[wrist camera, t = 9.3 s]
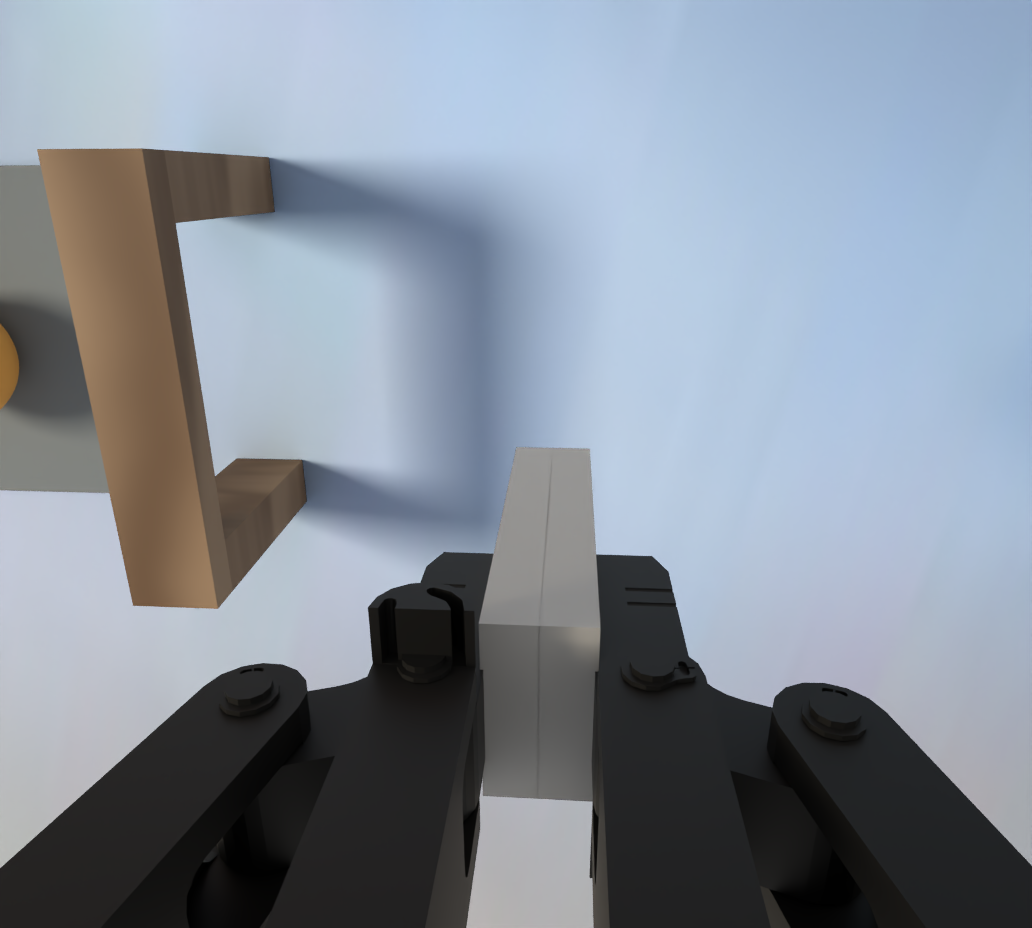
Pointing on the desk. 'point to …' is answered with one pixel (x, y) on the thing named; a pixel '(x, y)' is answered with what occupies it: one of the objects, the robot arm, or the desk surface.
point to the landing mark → (41, 352)
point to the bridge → (161, 366)
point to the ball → (7, 367)
